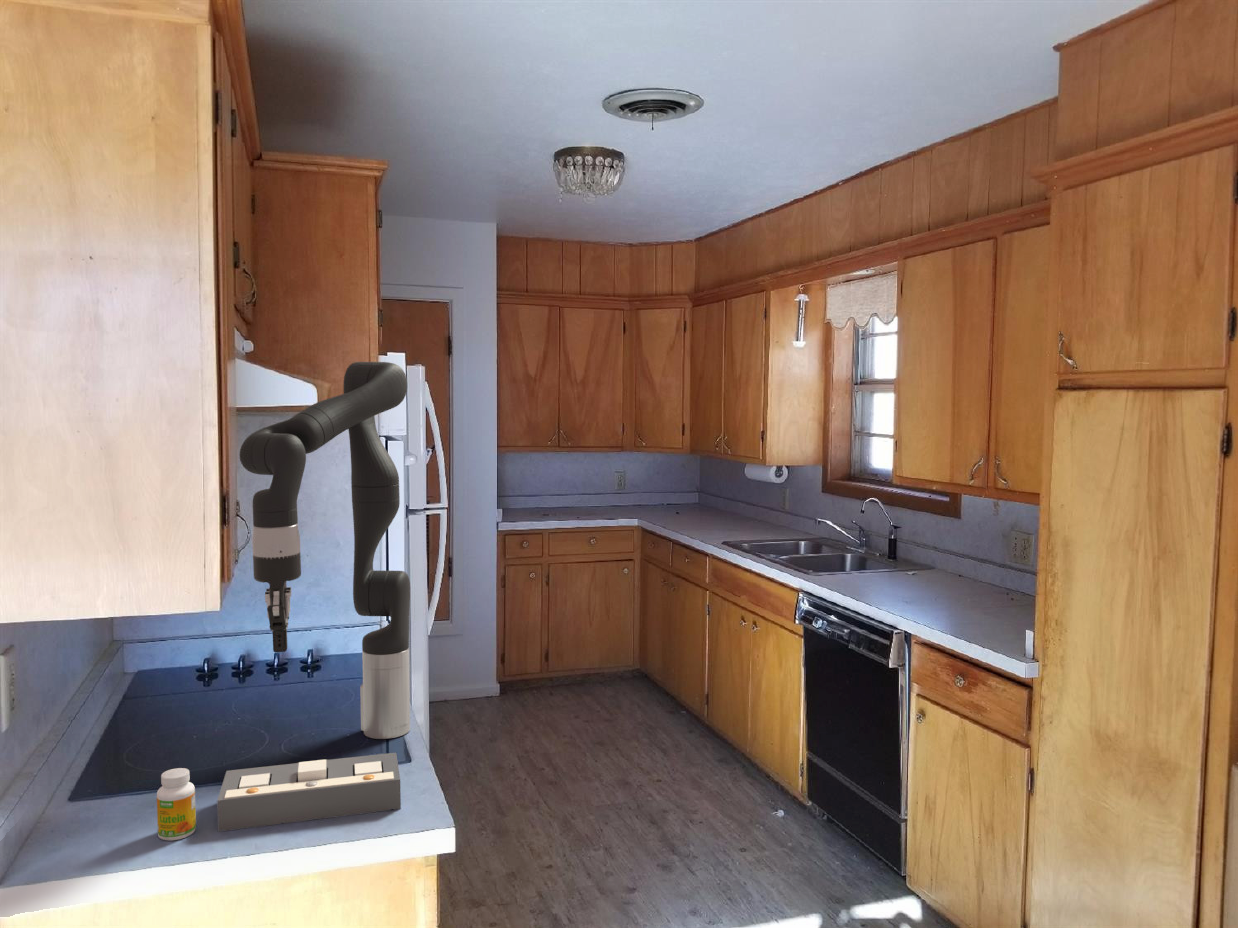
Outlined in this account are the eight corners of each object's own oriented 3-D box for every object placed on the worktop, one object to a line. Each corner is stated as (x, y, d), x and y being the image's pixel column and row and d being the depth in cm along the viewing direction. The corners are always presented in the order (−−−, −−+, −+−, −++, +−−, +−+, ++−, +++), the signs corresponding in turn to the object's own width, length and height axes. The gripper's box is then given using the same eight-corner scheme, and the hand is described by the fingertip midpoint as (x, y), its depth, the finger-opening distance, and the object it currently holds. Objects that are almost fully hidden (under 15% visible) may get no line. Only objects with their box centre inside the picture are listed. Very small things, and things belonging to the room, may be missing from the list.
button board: (218, 831, 143) (217, 798, 142) (227, 799, 154) (226, 768, 154) (400, 808, 151) (400, 777, 150) (396, 779, 162) (396, 750, 162)
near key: (239, 803, 147) (238, 787, 147) (242, 792, 151) (241, 776, 151) (268, 800, 148) (267, 783, 148) (270, 789, 152) (270, 773, 152)
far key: (355, 790, 152) (354, 774, 152) (354, 779, 156) (354, 764, 156) (382, 787, 153) (382, 771, 153) (381, 776, 158) (381, 761, 157)
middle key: (298, 789, 149) (297, 772, 149) (299, 778, 154) (298, 762, 153) (326, 785, 151) (325, 769, 150) (326, 775, 155) (326, 759, 155)
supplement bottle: (154, 843, 139) (152, 781, 138) (162, 827, 144) (160, 768, 143) (192, 839, 140) (190, 778, 139) (198, 823, 145) (197, 764, 145)
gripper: (298, 557, 148) (301, 661, 150) (302, 542, 160) (305, 638, 162) (248, 560, 146) (253, 665, 147) (256, 544, 158) (260, 641, 160)
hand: (280, 650), depth 155 cm, fingers closed
